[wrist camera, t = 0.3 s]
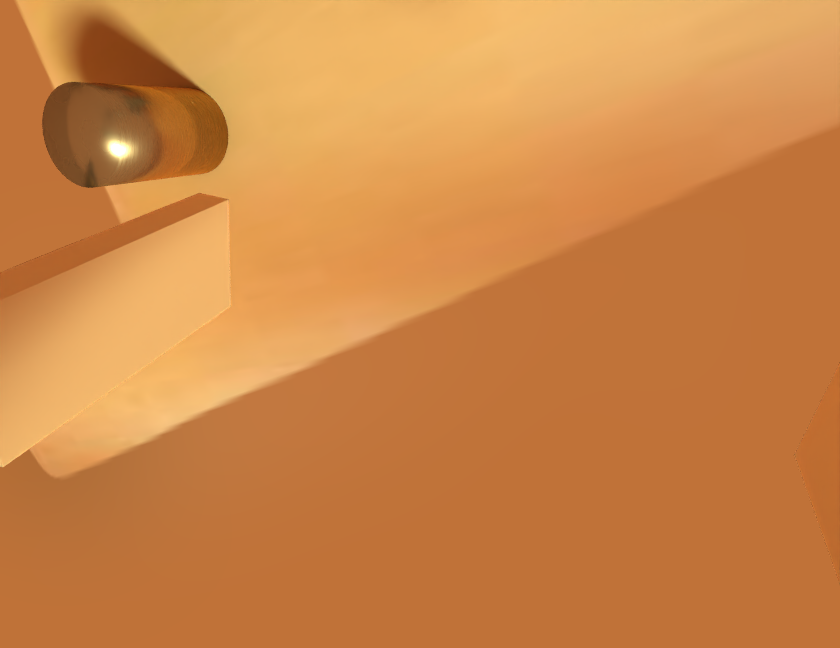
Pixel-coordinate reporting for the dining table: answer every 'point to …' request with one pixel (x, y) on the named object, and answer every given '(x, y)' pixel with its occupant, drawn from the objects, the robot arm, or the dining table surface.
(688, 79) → the dining table surface
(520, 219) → the dining table surface
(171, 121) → the glass jar
